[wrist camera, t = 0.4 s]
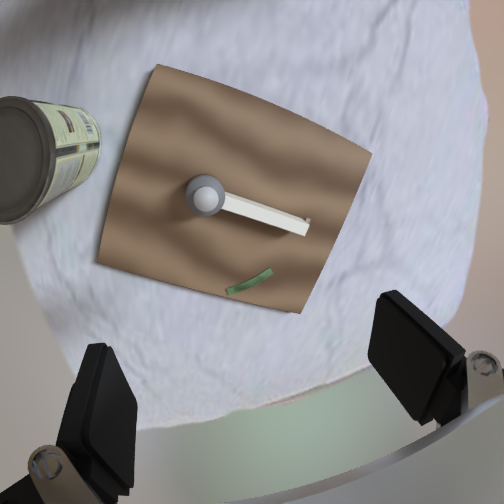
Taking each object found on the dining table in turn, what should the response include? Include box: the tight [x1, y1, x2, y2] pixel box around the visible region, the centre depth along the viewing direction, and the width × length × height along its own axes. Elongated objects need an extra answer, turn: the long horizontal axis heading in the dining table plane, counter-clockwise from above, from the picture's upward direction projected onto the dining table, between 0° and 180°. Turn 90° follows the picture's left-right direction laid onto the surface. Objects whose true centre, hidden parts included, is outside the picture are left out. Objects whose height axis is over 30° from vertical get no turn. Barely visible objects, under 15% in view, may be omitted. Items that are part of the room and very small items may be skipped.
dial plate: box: [97, 64, 372, 314], centre depth 35 cm, size 24×28×2 cm
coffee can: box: [0, 96, 102, 225], centre depth 22 cm, size 10×10×14 cm
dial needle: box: [186, 174, 309, 236], centre depth 32 cm, size 4×14×4 cm, turn 68°
